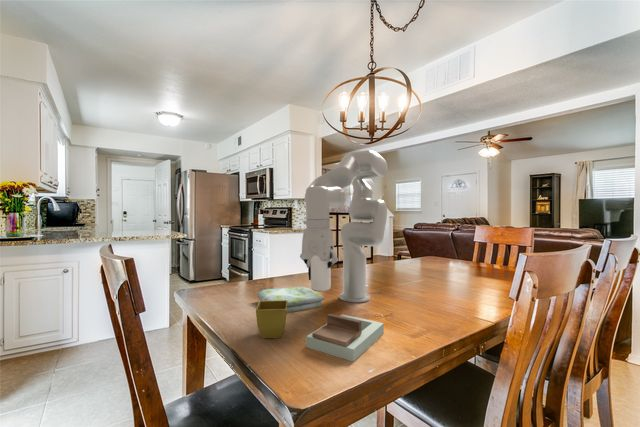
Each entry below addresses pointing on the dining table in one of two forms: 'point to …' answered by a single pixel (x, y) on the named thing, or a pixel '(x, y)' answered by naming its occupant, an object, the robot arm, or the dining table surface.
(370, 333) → the well board
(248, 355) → the dining table surface
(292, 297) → the towel
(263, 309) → the flower pot
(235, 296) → the dining table surface
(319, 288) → the can
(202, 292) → the dining table surface
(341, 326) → the lid
